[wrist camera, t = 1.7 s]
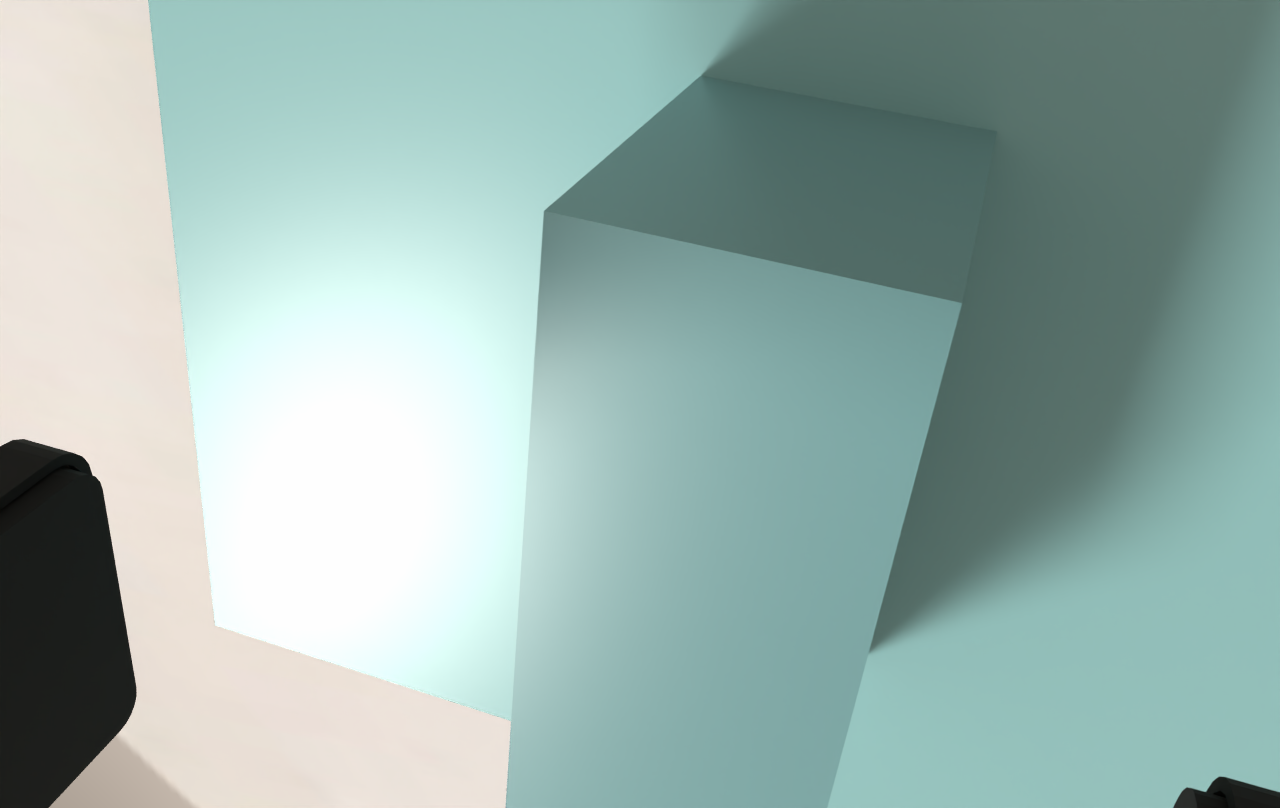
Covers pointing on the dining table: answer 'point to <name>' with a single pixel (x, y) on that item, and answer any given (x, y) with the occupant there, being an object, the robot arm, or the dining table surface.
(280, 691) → the dining table surface
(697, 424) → the lid
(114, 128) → the dining table surface
